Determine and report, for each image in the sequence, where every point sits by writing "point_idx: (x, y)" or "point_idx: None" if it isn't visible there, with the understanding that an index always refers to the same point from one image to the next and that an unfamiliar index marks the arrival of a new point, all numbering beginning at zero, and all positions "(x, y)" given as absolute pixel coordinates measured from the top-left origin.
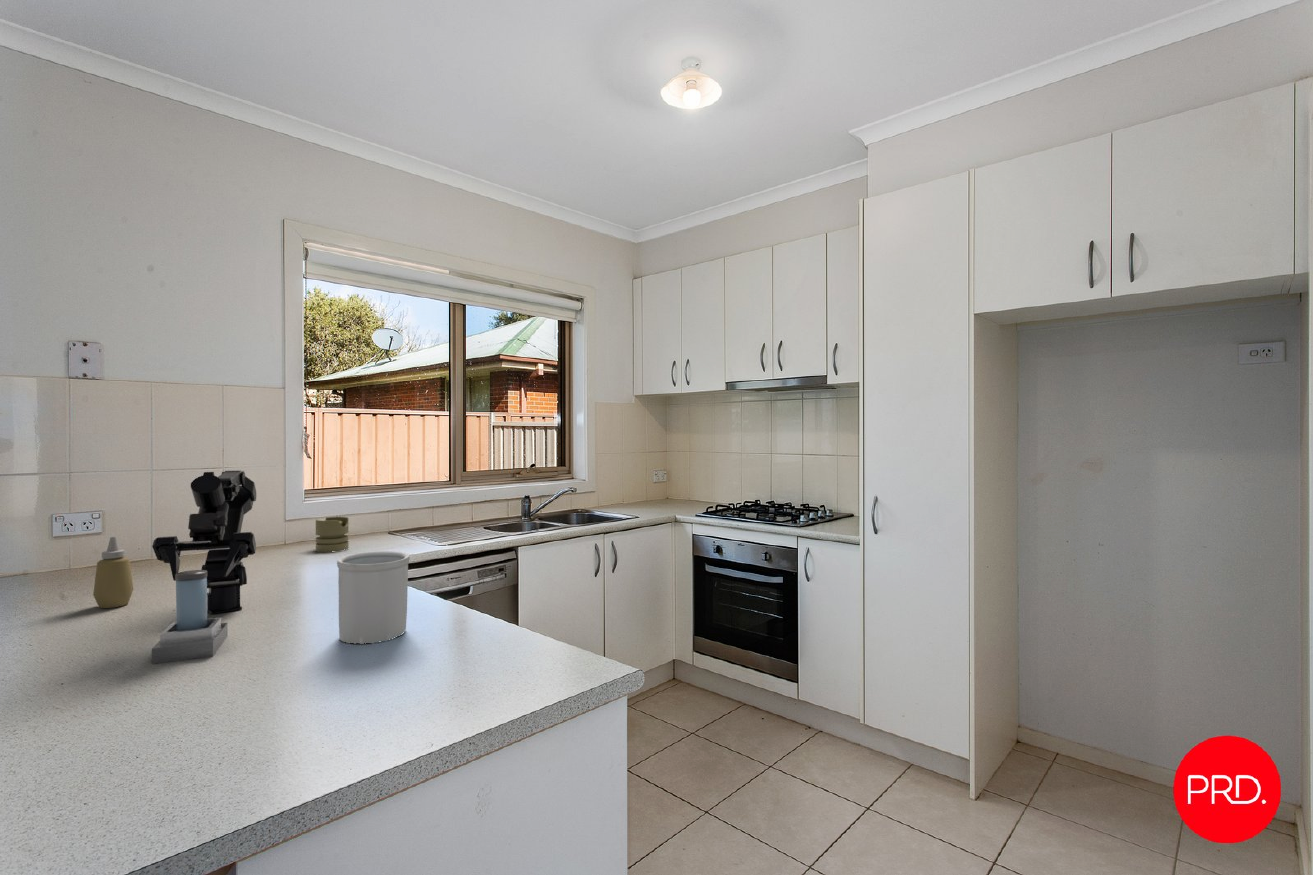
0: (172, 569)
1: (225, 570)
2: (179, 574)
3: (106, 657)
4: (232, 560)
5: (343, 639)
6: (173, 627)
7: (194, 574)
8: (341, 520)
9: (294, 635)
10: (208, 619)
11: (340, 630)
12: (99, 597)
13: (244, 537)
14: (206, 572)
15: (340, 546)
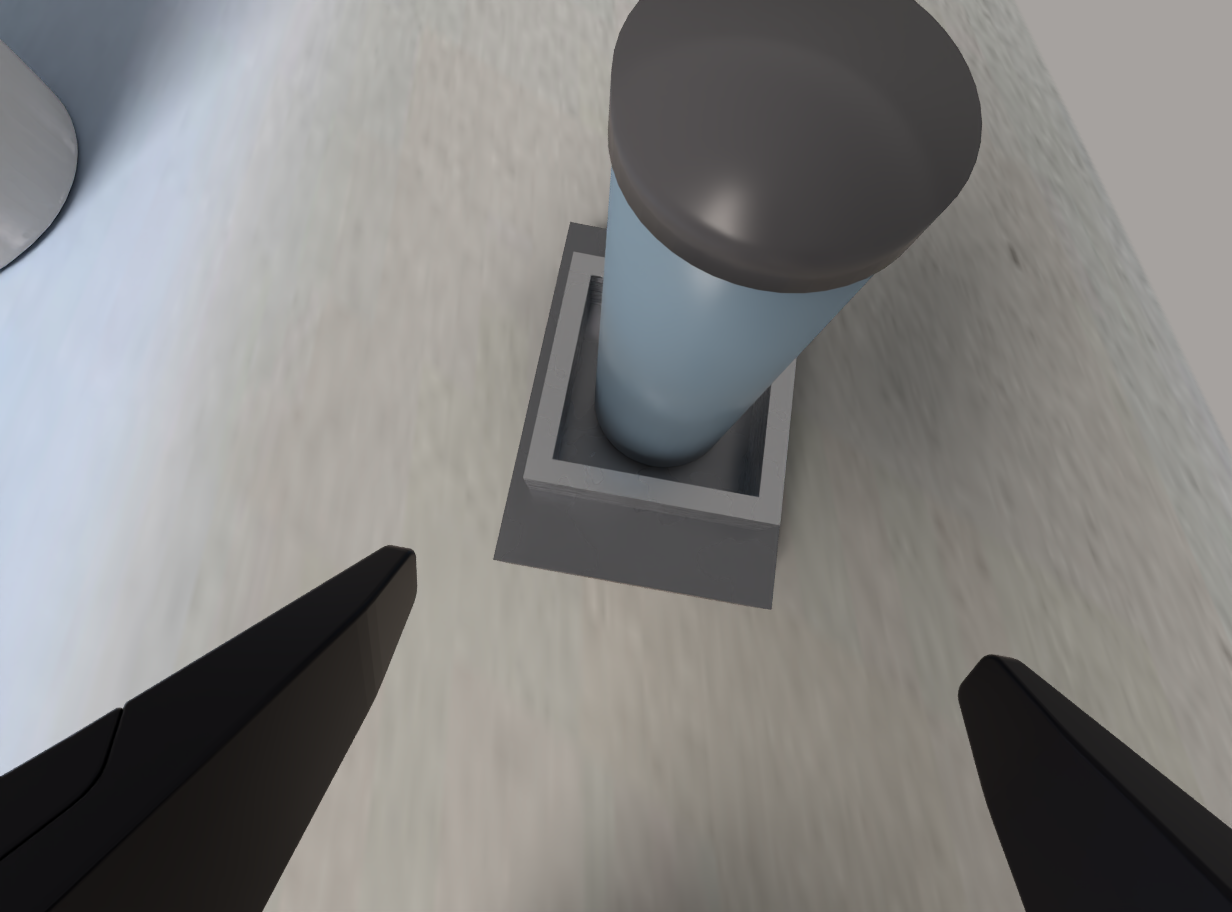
0: (1160, 783)
1: (369, 573)
2: (927, 68)
3: (971, 513)
4: (124, 716)
5: (67, 127)
6: (761, 442)
7: None
8: None
9: (222, 377)
10: (591, 467)
11: (31, 121)
12: None
13: None
14: (619, 40)
15: None
